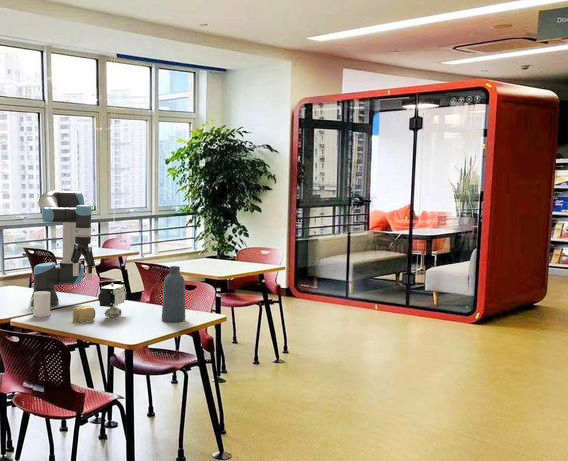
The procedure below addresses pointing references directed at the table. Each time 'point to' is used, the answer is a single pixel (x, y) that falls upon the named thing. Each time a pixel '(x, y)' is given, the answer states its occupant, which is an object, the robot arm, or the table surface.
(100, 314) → the table surface
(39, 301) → the mug
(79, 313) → the tan block
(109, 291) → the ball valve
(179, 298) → the gray bottle
